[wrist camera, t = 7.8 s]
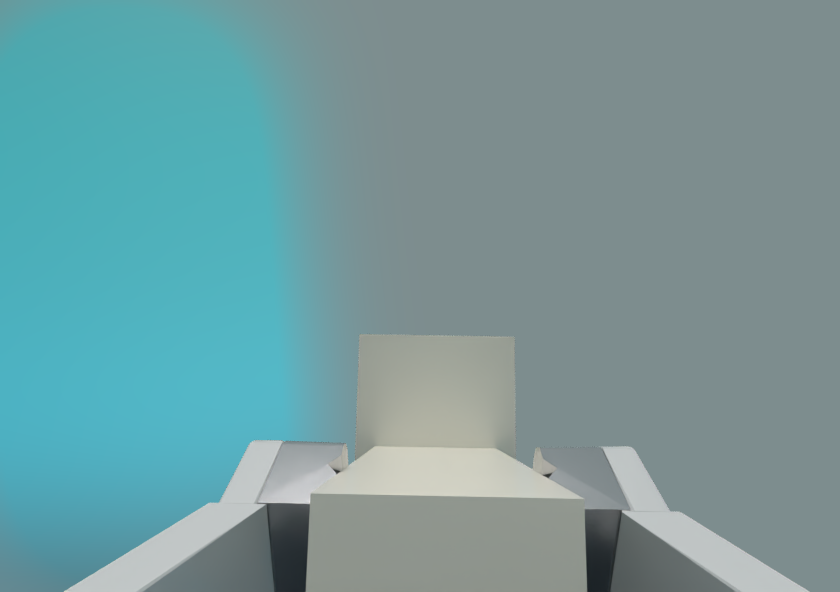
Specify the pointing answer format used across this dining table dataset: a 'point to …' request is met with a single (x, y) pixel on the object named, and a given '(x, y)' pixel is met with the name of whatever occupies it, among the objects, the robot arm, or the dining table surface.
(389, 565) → the white block with handle
